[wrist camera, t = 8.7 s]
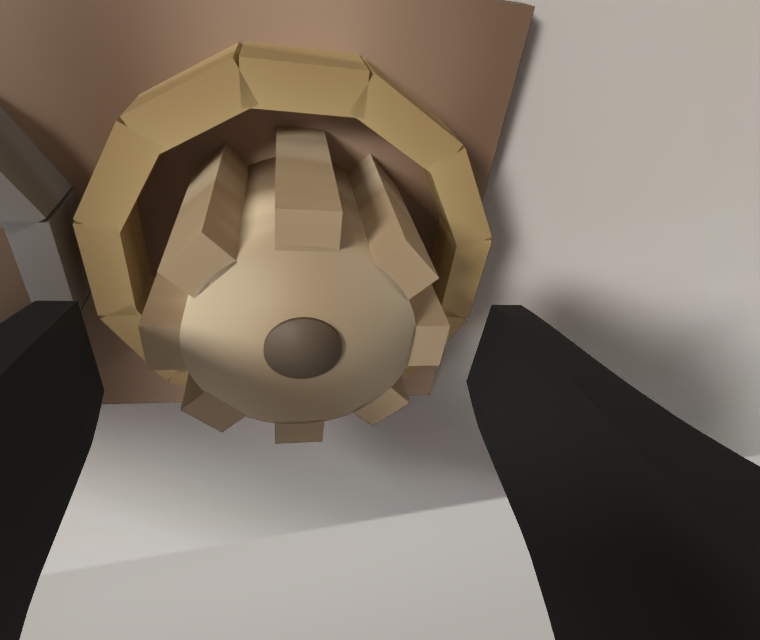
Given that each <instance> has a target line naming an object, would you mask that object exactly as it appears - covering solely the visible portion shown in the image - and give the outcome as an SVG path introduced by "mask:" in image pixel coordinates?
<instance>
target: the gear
mask: <svg viewBox="0 0 760 640" xmlns="http://www.w3.org/2000/svg"><path fill="white" fill-rule="evenodd" d="M437 279H439V277H438V275H437V272H436V270H435V268H434V266H433V264H432V262H431V259H430V257H429V255H428V253H427V251H426V249H425V246H424V244H423V242H422V240H421V238H420V236H419V234H418V231H417V229H416V227H415V225H414V223H413V221H412V218H411V216H410V214H409V212H408V210H407V208H406V205H405V203H404V201H403V199H402V197H401V195H400V193H399V190H398V188H397V186H396V185H395V183H394V182H393V181H392V180H391V178H390V177H389V176H388V175H387V173H386V172H385V171H384V170H383V169H382V167H381V166H380V165H379V164H378V162H377V161H376V160H375V159H374V157H373V156H372V155H371V154H369V155H368V156H367V157H365V158H364V159H363V160H362V161H361V162H359V163H358V164H357V165H356V166H355V167H353V168H352V169H351V170H350V171H349V172H346V171H345V170H343V169H341V168H340V167H338V166H336V165H334V164H332V162H331V158H330V153H329V149H328V144H327V140H326V135H325V131H324V129H313V128H301V127H289V126H277V125H276V157H272V158H269V159H265V160H261V161H259V162H256V163H254V164H251V165H248V164H247V163H246V162H245V161H244V160H243V159H242V158H240V157H239V156H238V155H237V154H236V153H235V152H234V151H233V150H232V149H231V148H230V147H229V146H228V145H227V144H226V143H224V144H223V145H222V146H221V147H220V148H219V149H218V150H217V151H216V152H215V153H214V154H213V155H212V156H210V157H209V158H208V159H207V160H206V161H205V162H204V163H203V164H202V165H201V166H200V167H199V168H198V169H197V170H196V171H195V172H194V173H193V175H192V177H191V180H190V183H189V186H188V188H187V191H186V194H185V197H184V199H183V202H182V205H181V208H180V210H179V213H178V216H177V219H176V221H175V224H174V227H173V230H172V232H171V235H170V238H169V241H168V243H167V246H166V249H165V251H164V254H163V257H162V260H161V262H160V265H159V268H158V271H157V275H156V278H155V280H154V283H153V286H152V289H151V291H150V294H149V297H148V300H147V302H146V305H145V308H144V311H143V313H142V316H141V319H140V322H139V324H138V328H139V333H140V338H141V342H142V347H143V351H144V356H145V361H146V365H147V370H188V372H189V373H188V378H187V383H186V388H185V393H184V397H183V402H182V407H181V410H182V411H184V412H185V413H187V414H189V415H191V416H193V417H195V418H196V419H198V420H200V421H202V422H204V423H206V424H207V425H209V426H211V427H213V428H215V429H217V430H218V431H220V432H223V431H225V430H226V429H228V428H229V427H230V426H232V425H233V424H235V423H236V422H237V421H239V420H240V419H242V418H243V417H244V416H246V417H249V418H253V419H256V420H260V421H266V422H271V423H275V444H279V443H300V442H322V439H323V428H324V421H327V420H331V419H335V418H339V417H342V416H345V415H347V414H350V413H355V414H356V415H357V416H359V417H360V418H362V419H363V420H364V421H366V422H367V423H369V424H370V425H371V426H374V425H375V424H377V423H378V422H380V421H381V420H383V419H385V418H386V417H388V416H389V415H391V414H392V413H394V412H396V411H397V410H399V409H400V408H402V407H403V406H405V405H407V404H408V403H409V399H408V396H407V392H406V388H405V385H404V381H403V378H402V374H403V372H404V371H405V369H406V367H407V366H439V365H440V361H441V358H442V354H443V350H444V347H445V343H446V340H447V336H448V332H449V329H450V325H449V323H448V320H447V318H446V316H445V313H444V311H443V309H442V306H441V304H440V302H439V299H438V297H437V295H436V293H435V290H434V288H433V286H432V283H433V282H435V281H436V280H437Z"/></svg>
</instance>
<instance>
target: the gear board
mask: <svg viewBox="0 0 760 640" xmlns="http://www.w3.org/2000/svg"><path fill="white" fill-rule="evenodd" d="M534 8H535V6H531V5H528V4H524V3H518V2H511V1H505V0H0V323H2V322H3V321H5V320H6V319H8V318H9V317H11V316H12V315H14V314H15V313H17V312H18V311H20V310H21V309H23V308H24V307H26V306H28V305H29V304H31V303H32V302H34V301H78V304H79V307H80V310H81V314H82V317H83V320H84V324H85V327H86V330H87V334H88V337H89V340H90V344H91V347H92V350H93V354H94V357H95V360H96V364H97V367H98V370H99V374H100V377H101V380H102V384H103V387H104V395H103V399H102V404H126V403H161V402H183V397H184V393H185V388H186V383H187V378H188V373H189V372H188V370H147V365H146V361H145V356H144V351H143V347H142V342H141V338H140V333H139V328H138V324H139V322H140V319H141V316H142V313H143V311H144V308H145V305H146V302H147V300H148V297H149V294H150V291H151V289H152V286H153V283H154V280H155V278H156V275H157V271H158V268H159V265H160V262H161V260H162V257H163V254H164V251H165V249H166V246H167V243H168V241H169V238H170V235H171V232H172V230H173V227H174V224H175V221H176V219H177V216H178V213H179V210H180V208H181V205H182V202H183V199H184V197H185V194H186V191H187V188H188V186H189V183H190V180H191V177H192V175H193V173H194V172H195V171H196V170H197V169H198V168H199V167H200V166H201V165H202V164H203V163H204V162H205V161H206V160H207V159H208V158H209V157H210V156H212V155H213V154H214V153H215V152H216V151H217V150H218V149H219V148H220V147H221V146H222V145H223V144H224V143H226V144H227V145H228V146H229V147H230V148H231V149H232V150H233V151H234V152H235V153H236V154H237V155H238V156H239V157H240V158H242V159H243V160H244V161H245V162H246V163H247V164H248V165H251V164H254V163H256V162H259V161H261V160H265V159H269V158H272V157H276V125H277V126H289V127H301V128H313V129H324V131H325V135H326V140H327V144H328V149H329V153H330V158H331V162H332V164H334V165H336V166H338V167H340V168H341V169H343V170H345V171H346V172H349V171H350V170H351V169H352V168H353V167H355V166H356V165H357V164H358V163H359V162H361V161H362V160H363V159H364V158H365V157H367V156H368V155H369V154H371V155H372V156H373V157H374V159H375V160H376V161H377V162H378V164H379V165H380V166H381V167H382V169H383V170H384V171H385V172H386V173H387V175H388V176H389V177H390V178H391V180H392V181H393V182H394V183H395V185H396V186H397V188H398V190H399V193H400V195H401V197H402V199H403V201H404V203H405V205H406V208H407V210H408V212H409V214H410V216H411V218H412V221H413V223H414V225H415V227H416V229H417V231H418V234H419V236H420V238H421V240H422V242H423V244H424V246H425V249H426V251H427V253H428V255H429V257H430V259H431V262H432V264H433V266H434V268H435V270H436V272H437V275H438V277H439V279H437V280H436V281H435V282H433V283H432V286H433V288H434V290H435V293H436V295H437V297H438V299H439V302H440V304H441V306H442V309H443V311H444V313H445V316H446V318H447V320H448V323H449V325H450V329H449V332H448V336H447V340H448V339H449V338H450V337H451V336H452V335H453V334H454V333H455V332H456V331H457V330H458V329H459V328H460V327H461V326H462V325H463V324H464V323H465V322H466V321H467V320H466V317H469V315H470V312H471V309H472V305H473V302H474V299H475V295H476V292H477V289H478V285H479V282H480V279H481V275H482V272H483V269H484V265H485V262H486V259H487V255H488V252H489V249H490V245H491V242H492V240H491V239H490V237H492V235H491V232H490V229H489V225H488V222H487V219H486V215H485V212H484V208H483V205H482V200H483V196H484V193H485V189H486V185H487V181H488V178H489V174H490V170H491V167H492V163H493V159H494V156H495V152H496V148H497V145H498V141H499V137H500V134H501V130H502V126H503V123H504V119H505V115H506V111H507V108H508V104H509V100H510V97H511V93H512V89H513V86H514V82H515V78H516V75H517V71H518V67H519V64H520V60H521V56H522V53H523V49H524V45H525V41H526V38H527V34H528V30H529V27H530V23H531V19H532V16H533V12H534ZM447 340H446V341H447ZM436 369H437V366H407V367H406V369H405V371H404V372H403V374H402V378H403V381H404V385H405V388H406V392H407V395H430V391H431V388H432V384H433V380H434V377H435V373H436Z"/></svg>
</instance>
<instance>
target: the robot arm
mask: <svg viewBox="0 0 760 640" xmlns="http://www.w3.org/2000/svg"><path fill="white" fill-rule="evenodd" d="M467 385H468V389H469V393H470V397H471V401H472V406H473V409H474V413H475V416H476V420H477V424H478V427H479V430H480V432H481V435H482V437H483V440H484V442H485V445H486V447H487V450H488V452H489V454H490V457H491V459H492V462H493V464H494V467H495V469H496V471H497V474H498V476H499V479H500V481H501V483H502V486H503V488H504V491H505V493H506V495H507V498H508V500H509V503H510V505H511V507H512V510H513V512H514V515H515V517H516V519H517V522H518V524H519V527H520V529H521V531H522V534H523V537H524V540H525V542H526V545H527V548H528V550H529V553H530V556H531V559H532V562H533V566H534V569H535V572H536V575H537V579H538V582H539V585H540V589H541V592H542V595H543V598H544V601H545V605H546V608H547V612H548V615H549V619H550V622H551V626H552V630H553V633H554V637H555V640H760V466H758V465H756V464H754V463H752V462H751V461H749V460H747V459H745V458H744V457H742V456H740V455H738V454H737V453H735V452H733V451H732V450H730V449H728V448H727V447H725V446H723V445H722V444H720V443H718V442H717V441H715V440H713V439H712V438H710V437H708V436H707V435H705V434H703V433H701V432H700V431H698V430H697V429H695V428H693V427H692V426H690V425H689V424H687V423H686V422H684V421H682V420H681V419H679V418H678V417H676V416H675V415H673V414H672V413H670V412H669V411H667V410H666V409H664V408H663V407H661V406H660V405H658V404H657V403H655V402H654V401H653V400H651V399H650V398H648V397H647V396H645V395H644V394H642V393H641V392H639V391H638V390H636V389H635V388H634V387H632V386H631V385H629V384H628V383H627V382H625V381H624V380H622V379H621V378H620V377H618V376H617V375H616V374H614V373H613V372H611V371H610V370H609V369H607V368H606V367H605V366H603V365H602V364H601V363H599V362H598V361H597V360H595V359H594V358H593V357H591V356H590V355H589V354H587V353H586V352H585V351H583V350H582V349H581V348H579V347H578V346H577V345H575V344H574V343H573V342H572V341H570V340H569V339H568V338H566V337H565V336H564V335H562V334H561V333H560V332H558V331H557V330H556V329H554V328H553V327H552V326H550V325H549V324H548V323H546V322H545V321H544V320H542V319H541V318H539V317H538V316H537V315H535V314H534V313H532V312H531V311H529V310H528V309H526V308H525V307H523V306H521V305H492V306H491V309H490V312H489V315H488V318H487V321H486V324H485V327H484V330H483V333H482V336H481V339H480V342H479V345H478V348H477V351H476V354H475V357H474V360H473V363H472V366H471V369H470V372H469V376H468V379H467ZM103 395H104V387H103V384H102V380H101V377H100V374H99V370H98V367H97V364H96V360H95V357H94V354H93V350H92V347H91V344H90V340H89V337H88V334H87V330H86V327H85V324H84V320H83V317H82V314H81V310H80V307H79V304H78V301H34V302H32V303H31V304H29V305H28V306H26V307H24V308H23V309H21V310H20V311H18V312H17V313H15V314H14V315H12V316H11V317H9V318H8V319H6V320H5V321H3V322H2V323H0V640H19V639H20V635H21V632H22V628H23V625H24V621H25V618H26V614H27V611H28V607H29V605H30V602H31V599H32V596H33V593H34V590H35V588H36V585H37V582H38V579H39V576H40V574H41V571H42V569H43V566H44V564H45V561H46V559H47V556H48V554H49V551H50V549H51V546H52V544H53V541H54V539H55V536H56V534H57V531H58V529H59V526H60V524H61V521H62V519H63V516H64V514H65V511H66V509H67V506H68V504H69V501H70V499H71V496H72V494H73V491H74V489H75V486H76V484H77V481H78V478H79V476H80V473H81V471H82V468H83V466H84V463H85V460H86V458H87V455H88V453H89V450H90V447H91V445H92V441H93V437H94V433H95V429H96V425H97V421H98V417H99V413H100V408H101V404H102V399H103Z"/></svg>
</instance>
